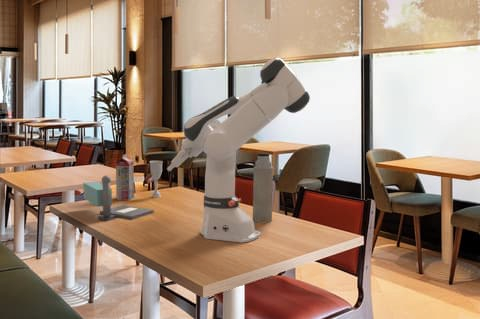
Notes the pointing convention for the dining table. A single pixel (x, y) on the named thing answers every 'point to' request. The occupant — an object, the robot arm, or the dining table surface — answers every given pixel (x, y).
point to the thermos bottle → (262, 189)
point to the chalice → (156, 175)
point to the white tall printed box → (124, 178)
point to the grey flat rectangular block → (129, 212)
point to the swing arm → (99, 194)
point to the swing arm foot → (106, 218)
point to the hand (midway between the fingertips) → (168, 169)
